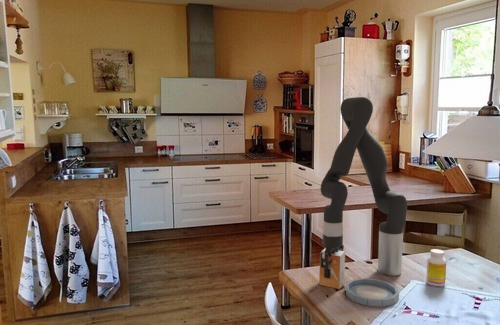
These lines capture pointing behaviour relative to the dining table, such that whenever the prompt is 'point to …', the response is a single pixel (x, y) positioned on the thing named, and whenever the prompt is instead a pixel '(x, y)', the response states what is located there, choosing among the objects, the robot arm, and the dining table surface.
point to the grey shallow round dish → (372, 292)
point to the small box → (334, 271)
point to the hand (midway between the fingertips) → (331, 274)
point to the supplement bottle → (436, 268)
